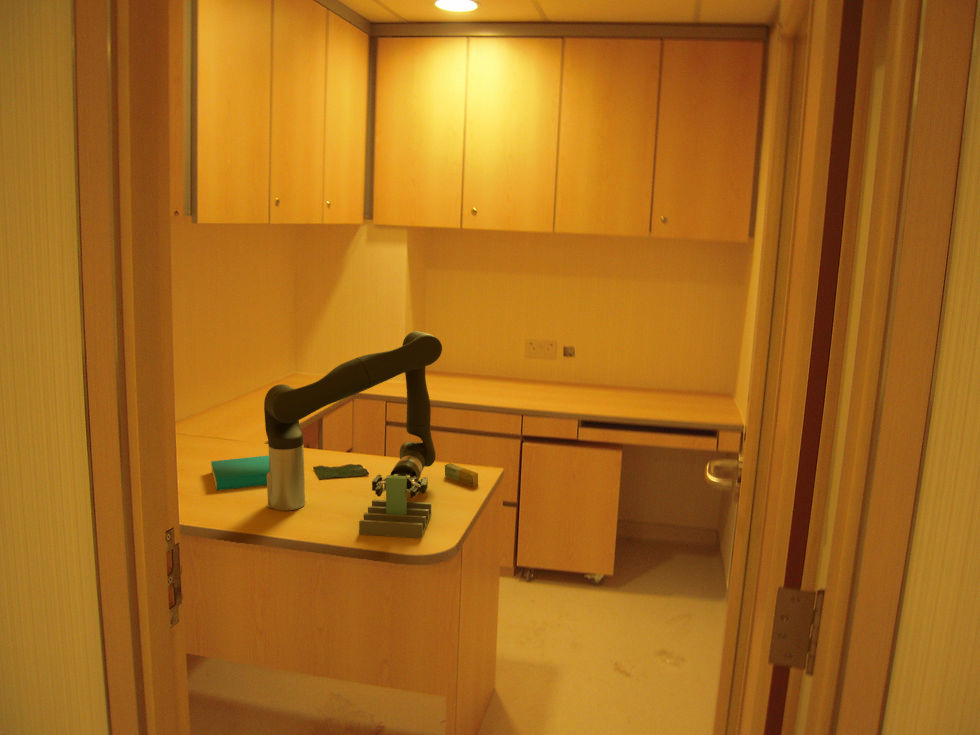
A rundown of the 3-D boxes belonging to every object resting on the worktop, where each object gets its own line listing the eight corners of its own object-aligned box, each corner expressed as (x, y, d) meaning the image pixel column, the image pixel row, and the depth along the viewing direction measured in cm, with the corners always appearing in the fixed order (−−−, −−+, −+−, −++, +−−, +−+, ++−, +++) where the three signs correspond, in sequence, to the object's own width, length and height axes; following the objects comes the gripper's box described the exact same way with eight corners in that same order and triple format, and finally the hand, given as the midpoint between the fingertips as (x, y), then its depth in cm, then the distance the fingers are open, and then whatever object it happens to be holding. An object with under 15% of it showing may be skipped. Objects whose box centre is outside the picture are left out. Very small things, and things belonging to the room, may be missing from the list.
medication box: (444, 477, 252) (444, 464, 251) (450, 475, 254) (450, 462, 253) (472, 487, 244) (472, 474, 243) (478, 485, 246) (478, 472, 245)
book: (210, 461, 251) (293, 451, 260) (211, 474, 252) (294, 464, 261) (216, 479, 235) (304, 468, 245) (217, 494, 236) (305, 482, 246)
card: (386, 521, 215) (385, 477, 212) (387, 518, 217) (387, 475, 214) (405, 522, 215) (405, 478, 212) (406, 519, 216) (406, 476, 214)
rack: (359, 534, 209) (359, 521, 208) (372, 511, 224) (372, 499, 223) (421, 538, 208) (421, 524, 207) (431, 515, 222) (431, 502, 222)
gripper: (381, 458, 228) (367, 478, 212) (432, 461, 226) (422, 481, 211) (381, 484, 229) (367, 506, 213) (432, 487, 228) (422, 509, 212)
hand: (394, 494), depth 212 cm, fingers open, 8 cm apart
